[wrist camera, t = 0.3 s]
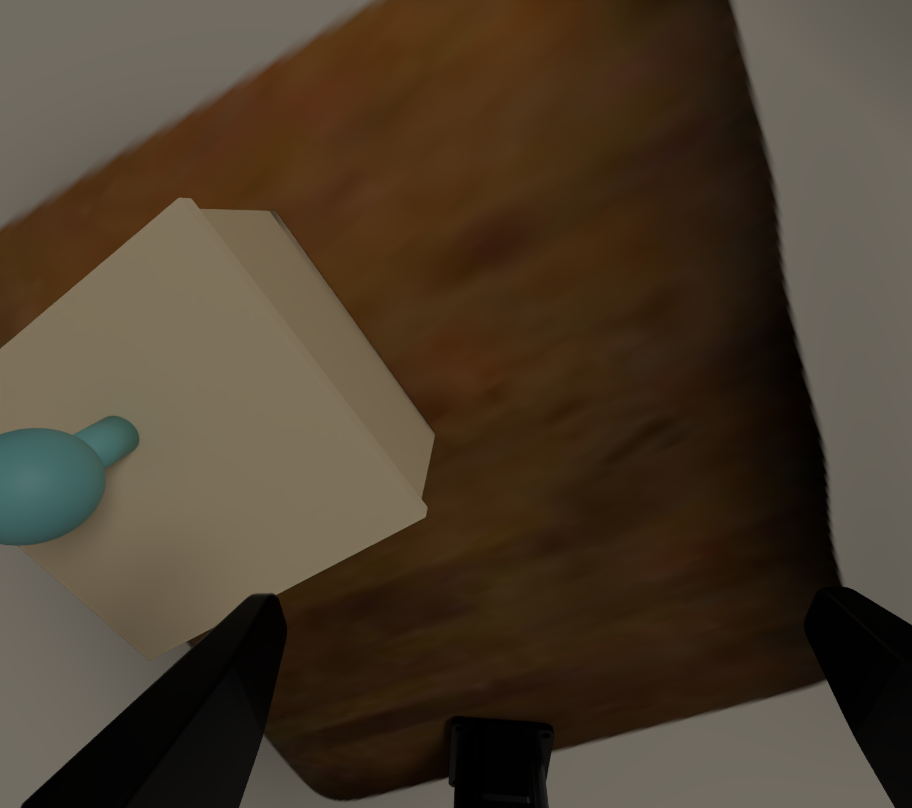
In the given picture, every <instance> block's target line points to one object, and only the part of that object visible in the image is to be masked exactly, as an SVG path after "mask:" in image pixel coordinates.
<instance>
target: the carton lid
mask: <svg viewBox="0 0 912 808" xmlns="http://www.w3.org/2000/svg"><path fill="white" fill-rule="evenodd" d="M426 513H427V506H426V505H425V503H424V502H423V501H422V499H421V498H420V497H419V496H418V494H417V493H416V492H415V490H414V489H413V488H412V486H411V485H410V484H409V482H408V481H407V480H406V479H405V477H404V476H403V475H402V473H401V472H400V471H399V469H398V468H397V467H396V466H395V464H394V463H393V462H392V460H391V459H390V458H389V456H388V455H387V454H386V452H385V451H384V450H383V449H382V447H381V446H380V445H379V443H378V442H377V441H376V439H375V438H374V437H373V435H372V434H371V433H370V432H369V430H368V429H367V428H366V426H365V425H364V424H363V422H362V421H361V420H360V418H359V417H358V416H357V415H356V413H355V412H354V411H353V409H352V408H351V407H350V405H349V404H348V403H347V401H346V400H345V399H344V398H343V396H342V395H341V394H340V392H339V391H338V390H337V388H336V387H335V386H334V385H333V383H332V382H331V381H330V379H329V378H328V377H327V375H326V374H325V373H324V371H323V370H322V369H321V368H320V366H319V365H318V364H317V362H316V361H315V360H314V358H313V357H312V356H311V354H310V353H309V352H308V351H307V349H306V348H305V347H304V345H303V344H302V343H301V341H300V340H299V339H298V337H297V336H296V335H295V334H294V332H293V331H292V330H291V328H290V327H289V326H288V324H287V323H286V322H285V320H284V319H283V318H282V317H281V315H280V314H279V313H278V311H277V310H276V309H275V307H274V306H273V305H272V304H271V302H270V301H269V300H268V298H267V297H266V296H265V294H264V293H263V292H262V290H261V289H260V288H259V287H258V285H257V284H256V283H255V281H254V280H253V279H252V277H251V276H250V275H249V273H248V272H247V271H246V270H245V268H244V267H243V266H242V264H241V263H240V262H239V260H238V259H237V258H236V256H235V255H234V254H233V253H232V251H231V250H230V249H229V247H228V246H227V245H226V243H225V242H224V241H223V239H222V238H221V237H220V236H219V234H218V233H217V232H216V230H215V229H214V228H213V226H212V225H211V224H210V223H209V221H208V220H207V219H206V217H205V216H204V215H203V213H202V212H201V211H200V209H199V208H198V207H197V206H196V204H195V203H194V202H193V200H192V199H191V198H178V199H177V200H176V201H174V202H173V203H172V204H171V205H170V206H169V207H167V208H166V209H165V210H164V211H163V212H161V213H160V214H159V215H158V216H157V217H156V218H154V219H153V220H152V221H151V222H150V223H148V224H147V225H146V226H145V227H144V228H143V229H141V230H140V231H139V232H138V233H137V234H135V235H134V236H133V237H132V238H131V239H130V240H128V241H127V242H126V243H125V244H124V245H123V246H121V247H120V248H119V249H118V250H117V251H115V252H114V253H113V254H112V255H111V256H110V257H108V258H107V259H106V260H105V261H104V262H102V263H101V264H100V265H99V266H98V267H97V268H95V269H94V270H93V271H92V272H91V273H89V274H88V275H87V276H86V277H85V278H84V279H82V280H81V281H80V282H79V283H78V284H76V285H75V286H74V287H73V288H72V289H71V290H69V291H68V292H67V293H66V294H65V295H63V296H62V297H61V298H60V299H59V300H58V301H56V302H55V303H54V304H53V305H52V306H51V307H49V308H48V309H47V310H46V311H45V312H43V313H42V314H41V315H40V316H39V317H38V318H36V319H35V320H34V321H33V322H32V323H30V324H29V325H28V326H27V327H26V328H25V329H23V330H22V331H21V332H20V333H19V334H17V335H16V336H15V337H14V338H13V339H12V340H10V341H9V342H8V343H7V344H6V345H4V346H3V347H2V348H1V349H0V544H4V545H16V546H18V547H20V548H21V549H22V550H23V551H25V553H27V554H28V555H29V556H30V557H31V558H32V559H33V560H35V561H36V562H37V563H38V564H39V565H40V566H42V567H43V568H44V569H45V570H46V571H47V572H48V573H49V574H51V575H52V576H53V577H54V578H55V579H57V580H58V581H59V582H60V583H61V584H62V585H63V586H64V587H66V588H67V589H68V590H69V591H70V592H71V593H72V594H74V595H75V596H76V597H77V598H78V599H79V600H80V601H82V602H83V603H84V604H85V605H86V606H87V607H88V608H90V609H91V610H92V611H93V612H94V613H96V615H98V616H99V617H100V618H101V619H102V620H103V621H105V622H106V623H107V624H108V625H109V626H110V627H112V628H113V629H114V630H115V631H116V632H117V633H118V634H119V635H121V636H122V637H123V638H124V639H125V640H126V641H127V642H129V643H130V644H131V645H132V646H133V647H134V648H135V649H137V650H138V651H139V652H140V653H141V654H142V655H143V656H145V657H146V658H147V659H148V660H152V659H154V658H156V657H157V656H159V655H161V654H163V653H165V652H167V651H169V650H171V649H173V648H175V647H177V646H179V645H181V644H182V643H184V642H186V641H188V640H190V639H192V638H194V637H196V636H198V635H200V634H202V633H204V632H206V631H208V630H209V629H211V628H213V627H215V626H216V625H217V624H219V623H220V622H221V621H222V620H223V619H224V618H225V617H226V616H227V615H228V614H229V613H231V612H232V611H233V610H234V609H235V608H236V607H237V606H238V605H239V604H240V603H241V602H243V601H244V600H245V599H246V598H247V597H248V596H250V595H252V594H255V593H274V594H276V595H277V594H279V593H281V592H283V591H284V590H286V589H288V588H290V587H292V586H294V585H296V584H298V583H300V582H302V581H304V580H306V579H308V578H309V577H311V576H313V575H315V574H317V573H319V572H321V571H323V570H325V569H327V568H329V567H331V566H333V565H334V564H336V563H338V562H340V561H342V560H344V559H346V558H348V557H350V556H352V555H354V554H356V553H358V552H359V551H361V550H363V549H365V548H367V547H369V546H371V545H373V544H375V543H377V542H379V541H381V540H383V539H384V538H386V537H388V536H390V535H392V534H394V533H396V532H398V531H400V530H402V529H404V528H406V527H407V526H409V525H411V524H413V523H415V522H417V521H419V520H421V519H423V518H425V517H426Z"/></svg>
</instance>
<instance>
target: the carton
mask: <svg viewBox="0 0 912 808" xmlns="http://www.w3.org/2000/svg"><path fill="white" fill-rule="evenodd" d="M200 211H201V212H202V213H203V215H204V216H205V217H206V219H207V220H208V221H209V223H210V224H211V225H212V226H213V228H214V229H215V230H216V232H217V233H218V234H219V236H220V237H221V238H222V239H223V241H224V242H225V243H226V245H227V246H228V247H229V249H230V250H231V251H232V253H233V254H234V255H235V256H236V258H237V259H238V260H239V262H240V263H241V264H242V266H243V267H244V268H245V270H246V271H247V272H248V273H249V275H250V276H251V277H252V279H253V280H254V281H255V283H256V284H257V285H258V287H259V288H260V289H261V290H262V292H263V293H264V294H265V296H266V297H267V298H268V300H269V301H270V302H271V304H272V305H273V306H274V307H275V309H276V310H277V311H278V313H279V314H280V315H281V317H282V318H283V319H284V320H285V322H286V323H287V324H288V326H289V327H290V328H291V330H292V331H293V332H294V334H295V335H296V336H297V337H298V339H299V340H300V341H301V343H302V344H303V345H304V347H305V348H306V349H307V351H308V352H309V353H310V354H311V356H312V357H313V358H314V360H315V361H316V362H317V364H318V365H319V366H320V368H321V369H322V370H323V371H324V373H325V374H326V375H327V377H328V378H329V379H330V381H331V382H332V383H333V385H334V386H335V387H336V388H337V390H338V391H339V392H340V394H341V395H342V396H343V398H344V399H345V400H346V401H347V403H348V404H349V405H350V407H351V408H352V409H353V411H354V412H355V413H356V415H357V416H358V417H359V418H360V420H361V421H362V422H363V424H364V425H365V426H366V428H367V429H368V430H369V432H370V433H371V434H372V435H373V437H374V438H375V439H376V441H377V442H378V443H379V445H380V446H381V447H382V449H383V450H384V451H385V452H386V454H387V455H388V456H389V458H390V459H391V460H392V462H393V463H394V464H395V466H396V467H397V468H398V469H399V471H400V472H401V473H402V475H403V476H404V477H405V479H406V480H407V481H408V482H409V484H410V485H411V486H412V488H413V489H414V490H415V492H416V493H417V494H418V496H419V497H420V498H421V499H422V494H423V489H424V485H425V480H426V475H427V470H428V466H429V461H430V456H431V452H432V447H433V442H434V437H435V434H434V432H433V431H432V429H431V428H430V427H429V425H428V424H427V422H426V421H425V420H424V418H423V417H422V415H421V414H420V413H419V411H418V410H417V408H416V407H415V406H414V404H413V403H412V401H411V400H410V399H409V397H408V396H407V394H406V393H405V392H404V390H403V389H402V387H401V386H400V385H399V383H398V382H397V380H396V379H395V378H394V376H393V375H392V373H391V372H390V371H389V369H388V368H387V366H386V365H385V364H384V362H383V361H382V359H381V358H380V357H379V355H378V354H377V352H376V351H375V350H374V348H373V347H372V345H371V344H370V343H369V341H368V340H367V338H366V337H365V336H364V334H363V333H362V331H361V330H360V329H359V327H358V326H357V325H356V323H355V322H354V320H353V319H352V318H351V316H350V315H349V313H348V312H347V311H346V309H345V308H344V306H343V305H342V304H341V302H340V301H339V299H338V298H337V297H336V295H335V294H334V292H333V291H332V290H331V288H330V287H329V285H328V284H327V283H326V281H325V280H324V278H323V277H322V276H321V274H320V273H319V271H318V270H317V269H316V267H315V266H314V264H313V263H312V262H311V260H310V259H309V257H308V256H307V255H306V253H305V252H304V250H303V249H302V248H301V246H300V245H299V243H298V242H297V241H296V239H295V238H294V236H293V235H292V234H291V232H290V231H289V229H288V228H287V227H286V225H285V224H284V222H283V221H282V220H281V218H280V217H279V215H278V214H277V213H276V211H252V210H217V209H200Z"/></svg>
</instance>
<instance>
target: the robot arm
mask: <svg viewBox="0 0 912 808" xmlns="http://www.w3.org/2000/svg"><path fill="white" fill-rule="evenodd" d="M804 629H805V633H806V636H807V639H808V641H809V643H810V645H811V647H812V649H813V651H814V654H815V656H816V658H817V660H818V662H819V664H820V666H821V668H822V671H823V673H824V675H825V677H826V679H827V681H828V683H829V685H830V687H831V690H832V692H833V694H834V696H835V698H836V700H837V702H838V704H839V707H840V709H841V711H842V713H843V715H844V717H845V719H846V721H847V723H848V725H849V727H850V729H851V731H852V733H853V735H854V737H855V739H856V741H857V742H858V744H859V746H860V748H861V750H862V752H863V753H864V755H865V757H866V759H867V760H868V762H869V764H870V765H871V767H872V769H873V770H874V772H875V774H876V776H877V777H878V779H879V781H880V783H881V784H882V786H883V788H884V790H885V791H886V793H887V795H888V797H889V798H890V800H891V802H892V803H893V805H894V807H895V808H912V625H911V624H909V623H908V622H906V621H904V620H902V619H901V618H899V617H898V616H896V615H894V614H893V613H891V612H889V611H888V610H886V609H885V608H883V607H881V606H879V605H878V604H876V603H874V602H873V601H871V600H870V599H868V598H866V597H865V596H863V595H861V594H860V593H858V592H857V591H855V590H853V589H850V588H847V587H823V588H820V589H819V590H818V591H817V592H816V594H815V596H814V599H813V601H812V603H811V605H810V608H809V610H808V612H807V615H806V617H805V620H804ZM286 637H287V625H286V621H285V618H284V614H283V611H282V608H281V605H280V601H279V598H278V596H277V595H276V594H274V593H255V594H252V595H250V596H248V597H247V598H246V599H245V600H244V601H243V602H241V603H240V604H239V605H238V606H237V607H236V608H235V609H234V610H233V611H232V612H231V613H229V614H228V615H227V616H226V617H225V618H224V619H223V620H222V621H221V622H220V623H219V624H217V625H216V626H215V627H214V628H213V629H212V630H211V631H210V632H209V633H208V634H207V635H205V636H204V637H203V638H202V639H201V640H200V641H199V642H198V643H197V644H196V645H195V646H193V647H192V648H191V649H190V650H189V651H188V652H187V653H186V654H185V655H184V656H183V657H182V658H180V660H178V661H177V662H176V663H175V664H174V665H173V666H172V667H171V668H170V669H168V670H167V671H166V672H165V673H164V674H163V675H162V676H161V677H160V678H159V679H158V680H157V681H155V682H154V683H153V684H152V685H151V686H150V687H149V688H148V689H147V690H146V691H144V692H143V693H142V694H141V695H140V696H139V697H138V698H137V699H136V700H135V701H134V702H132V704H130V706H128V707H127V708H126V709H125V710H124V711H123V712H122V713H121V714H119V715H118V716H117V717H116V718H115V719H114V720H113V721H112V722H111V723H110V724H109V725H107V726H106V727H105V728H104V729H103V730H102V731H101V732H100V733H99V734H98V735H97V736H96V737H94V738H93V739H92V740H91V741H90V742H89V743H88V744H87V745H86V746H85V747H84V748H82V749H81V750H80V751H79V752H78V753H77V754H76V755H75V756H74V757H73V758H71V759H70V760H69V761H68V762H67V763H66V764H65V765H64V766H63V767H62V768H61V769H60V770H59V771H57V772H56V773H55V774H54V775H53V776H52V777H51V778H50V779H49V780H48V781H46V782H45V783H44V784H43V785H42V786H41V787H40V788H39V789H38V790H37V791H36V792H35V793H33V794H32V795H31V796H30V797H29V798H28V799H27V800H26V801H25V802H24V803H23V804H22V805H21V808H239V806H240V803H241V799H242V797H243V794H244V791H245V788H246V785H247V782H248V779H249V776H250V773H251V770H252V767H253V765H254V762H255V759H256V756H257V753H258V750H259V746H260V743H261V740H262V737H263V733H264V730H265V726H266V722H267V718H268V714H269V710H270V705H271V701H272V697H273V693H274V689H275V684H276V680H277V676H278V672H279V668H280V663H281V659H282V655H283V651H284V647H285V642H286ZM553 739H554V732H553V727H552V726H551V725H548V724H539V723H526V722H513V721H500V720H487V719H474V718H461V717H459V718H455V719H453V720H452V729H451V748H450V767H449V785H450V786H452V787H455V791H454V808H549V806H548V797H547V788H546V779H547V772H548V767H549V762H550V756H551V751H552V745H553Z"/></svg>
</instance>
